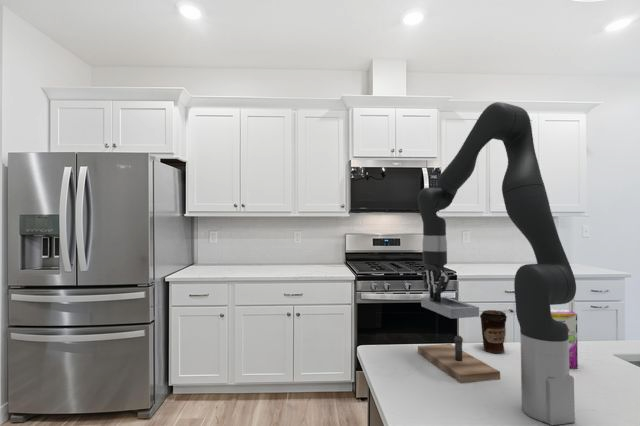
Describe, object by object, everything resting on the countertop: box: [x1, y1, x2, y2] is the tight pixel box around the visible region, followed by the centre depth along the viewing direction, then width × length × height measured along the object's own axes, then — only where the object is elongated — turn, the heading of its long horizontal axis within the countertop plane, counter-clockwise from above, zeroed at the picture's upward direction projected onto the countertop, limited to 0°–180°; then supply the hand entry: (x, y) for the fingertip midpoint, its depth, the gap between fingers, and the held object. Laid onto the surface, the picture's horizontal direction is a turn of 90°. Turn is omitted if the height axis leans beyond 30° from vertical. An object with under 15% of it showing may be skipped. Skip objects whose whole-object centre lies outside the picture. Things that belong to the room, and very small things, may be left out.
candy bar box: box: [550, 308, 579, 369], centre depth 108 cm, size 11×5×16 cm, turn 84°
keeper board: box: [417, 335, 501, 384], centre depth 108 cm, size 24×12×9 cm, turn 12°
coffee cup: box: [479, 309, 508, 354], centre depth 121 cm, size 9×8×13 cm
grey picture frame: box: [420, 296, 480, 319], centre depth 108 cm, size 16×9×3 cm, turn 14°
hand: (435, 303), depth 115 cm, fingers closed on grey picture frame, 1 cm apart
